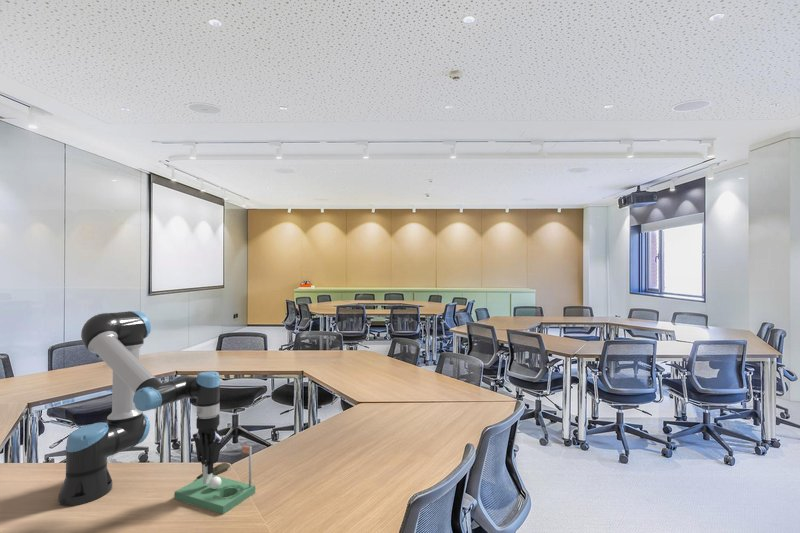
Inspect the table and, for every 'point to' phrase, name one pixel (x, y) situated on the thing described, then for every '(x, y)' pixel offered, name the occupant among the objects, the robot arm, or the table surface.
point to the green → (217, 492)
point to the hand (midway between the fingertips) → (207, 482)
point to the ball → (215, 482)
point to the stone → (218, 469)
